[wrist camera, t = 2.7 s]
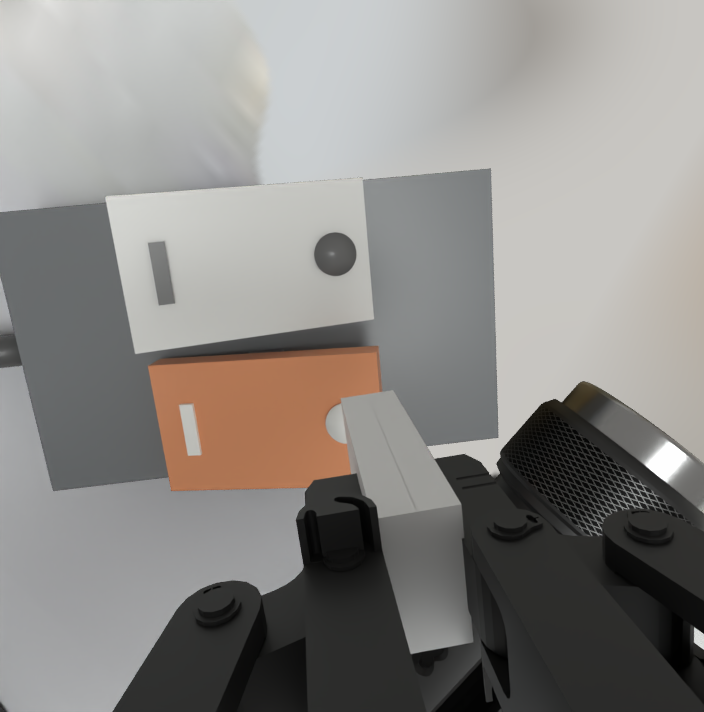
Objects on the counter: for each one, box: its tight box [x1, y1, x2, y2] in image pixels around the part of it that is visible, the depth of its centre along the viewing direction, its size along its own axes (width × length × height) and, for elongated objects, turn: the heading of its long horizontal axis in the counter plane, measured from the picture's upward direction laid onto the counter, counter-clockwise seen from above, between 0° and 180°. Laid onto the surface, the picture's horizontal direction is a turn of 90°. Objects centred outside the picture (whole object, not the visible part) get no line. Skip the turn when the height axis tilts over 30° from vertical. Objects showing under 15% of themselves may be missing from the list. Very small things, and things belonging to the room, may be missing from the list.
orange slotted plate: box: [148, 346, 382, 491], centre depth 24 cm, size 10×6×1 cm, turn 95°
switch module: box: [0, 169, 498, 491], centre depth 28 cm, size 28×13×6 cm, turn 95°
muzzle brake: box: [411, 381, 704, 712], centre depth 30 cm, size 10×28×10 cm, turn 141°
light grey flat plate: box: [105, 178, 374, 354], centre depth 23 cm, size 10×6×1 cm, turn 95°
